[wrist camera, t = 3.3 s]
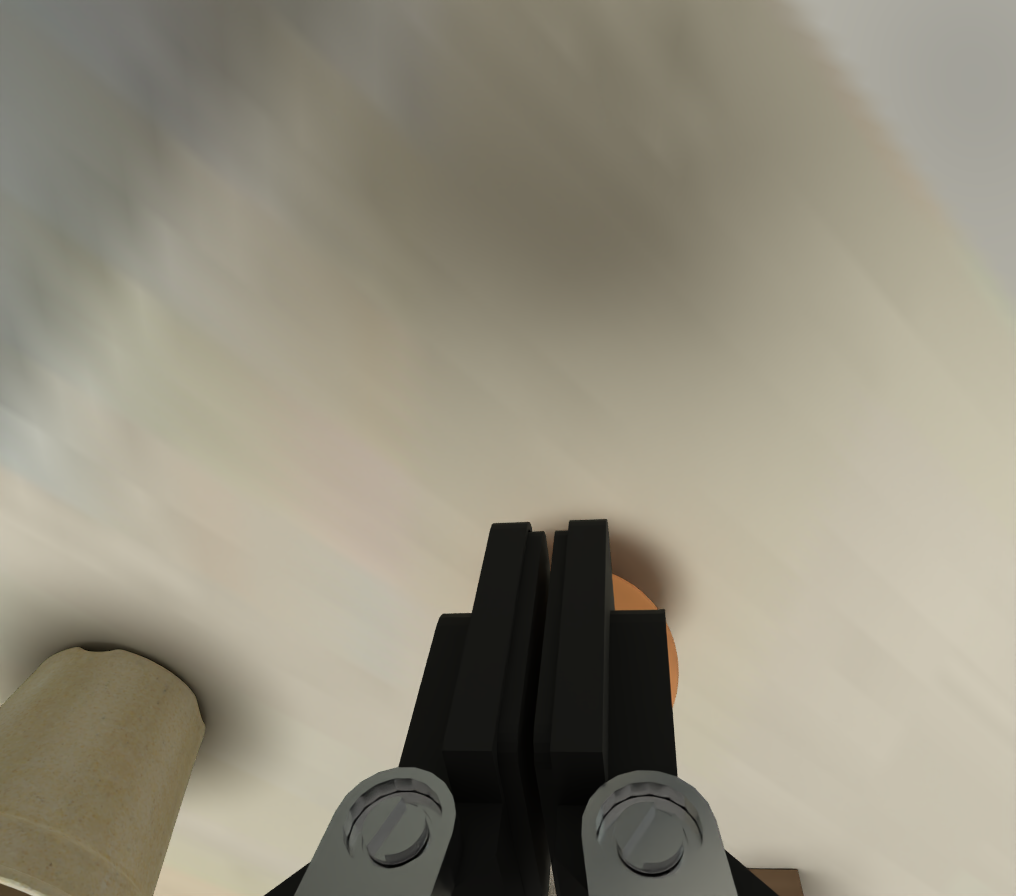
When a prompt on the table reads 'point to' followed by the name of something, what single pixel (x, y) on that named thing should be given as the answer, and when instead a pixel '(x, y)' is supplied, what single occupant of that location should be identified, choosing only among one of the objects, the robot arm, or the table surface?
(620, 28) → the table surface
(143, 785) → the flower pot
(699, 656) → the table surface
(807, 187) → the table surface
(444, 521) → the table surface
